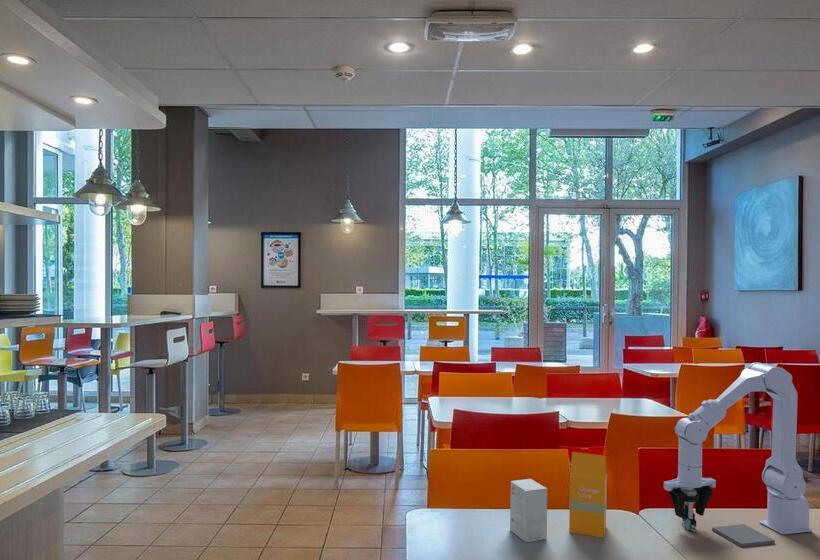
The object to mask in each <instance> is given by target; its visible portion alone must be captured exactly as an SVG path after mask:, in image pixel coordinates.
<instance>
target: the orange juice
mask: <svg viewBox="0 0 820 560" xmlns="http://www.w3.org/2000/svg"><path fill="white" fill-rule="evenodd" d="M570 461H571V462H570V475H569V499H568V501H569V502H568V503H569V505H568V508H569V509H568V510H569V516H568V517H569V521H568V522H569V524H568V527H569V529H568V530H569V531H568V532H569V533H571V534H572V533H574V534H577V535H578V534H579V535H584V536H585V535H586V536H590V537H591V536H592V537H597V538H605V534H606V528H607V499H608V498H607V482H608V481H607V480H608V479H607V478H608V477H607V475H608V473H607V472H608V471H607V456H606V455H603V454H594V453H588V452H587V453H585V452H576V451H572V452H571V460H570Z"/></svg>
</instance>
